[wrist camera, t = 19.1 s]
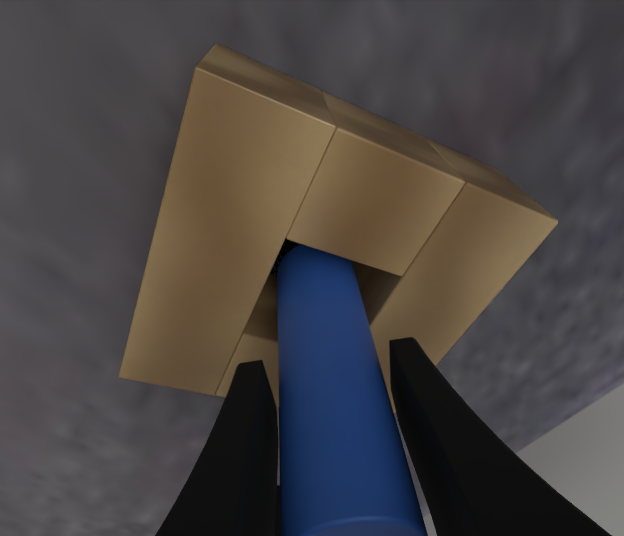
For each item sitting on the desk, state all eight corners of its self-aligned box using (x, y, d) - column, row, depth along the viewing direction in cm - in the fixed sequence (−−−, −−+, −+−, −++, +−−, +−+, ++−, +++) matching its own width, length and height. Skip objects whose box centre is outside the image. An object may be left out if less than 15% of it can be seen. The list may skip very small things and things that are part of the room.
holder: (500, 170, 15) (560, 222, 12) (365, 359, 21) (382, 428, 18) (215, 42, 12) (194, 65, 9) (145, 304, 18) (117, 377, 15)
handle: (349, 234, 14) (432, 510, 7) (355, 295, 16) (426, 570, 8) (270, 247, 14) (267, 534, 7) (283, 306, 16) (293, 589, 9)
